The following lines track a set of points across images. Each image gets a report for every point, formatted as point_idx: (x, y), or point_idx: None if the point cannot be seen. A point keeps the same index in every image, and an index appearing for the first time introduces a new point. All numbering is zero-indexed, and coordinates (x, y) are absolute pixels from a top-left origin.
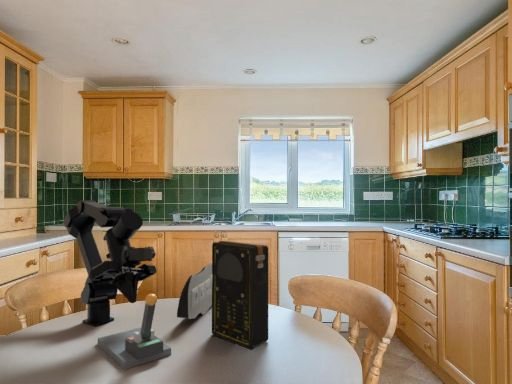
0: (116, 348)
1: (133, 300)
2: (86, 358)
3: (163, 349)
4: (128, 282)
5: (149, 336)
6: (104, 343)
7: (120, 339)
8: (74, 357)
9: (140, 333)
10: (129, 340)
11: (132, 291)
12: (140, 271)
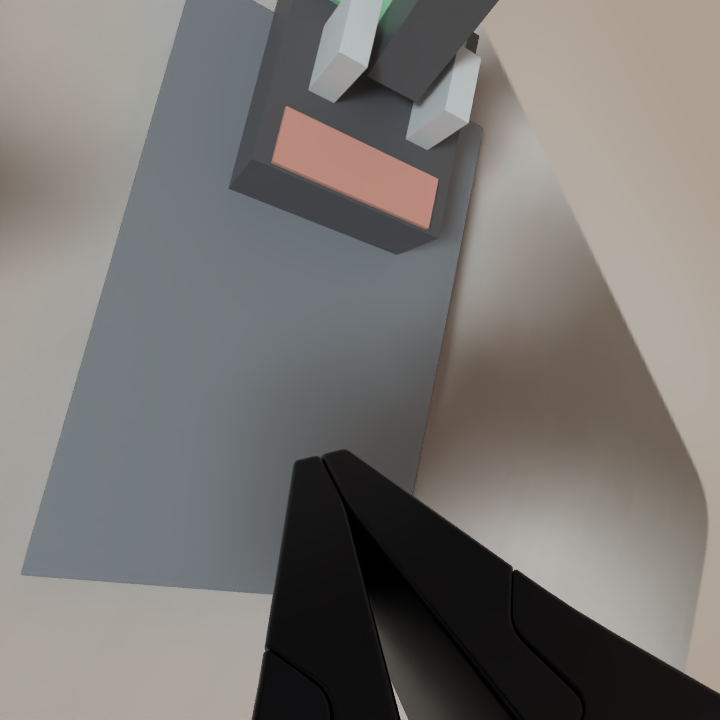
0: (414, 323)
1: (353, 460)
2: (495, 432)
3: (249, 9)
4: (668, 672)
5: (381, 22)
6: (413, 467)
7: (315, 442)
8: (520, 497)
9: (429, 84)
10: (436, 189)
11: (423, 545)
12: None
